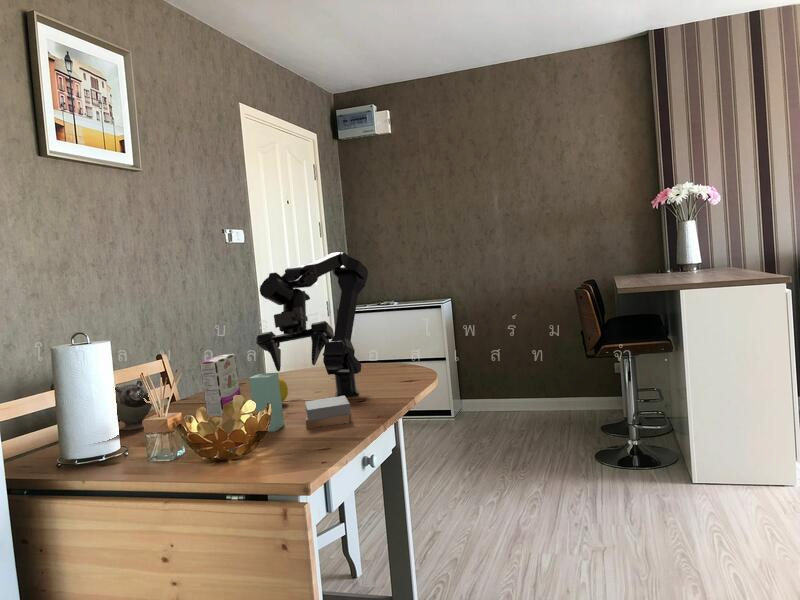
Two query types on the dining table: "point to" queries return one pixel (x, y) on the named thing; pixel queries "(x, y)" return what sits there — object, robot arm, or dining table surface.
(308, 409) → the top slab
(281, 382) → the lemon
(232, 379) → the candy bar box
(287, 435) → the dining table surface
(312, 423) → the bottom slab
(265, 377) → the pillar
